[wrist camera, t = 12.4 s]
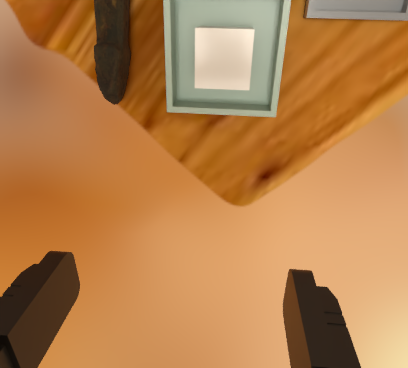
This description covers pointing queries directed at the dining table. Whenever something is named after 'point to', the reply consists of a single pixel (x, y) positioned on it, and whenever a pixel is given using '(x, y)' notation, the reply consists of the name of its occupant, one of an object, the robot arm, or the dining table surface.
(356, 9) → the bin
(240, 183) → the dining table surface
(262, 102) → the bin
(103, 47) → the hand tool
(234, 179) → the dining table surface
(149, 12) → the dining table surface
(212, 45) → the beige block
